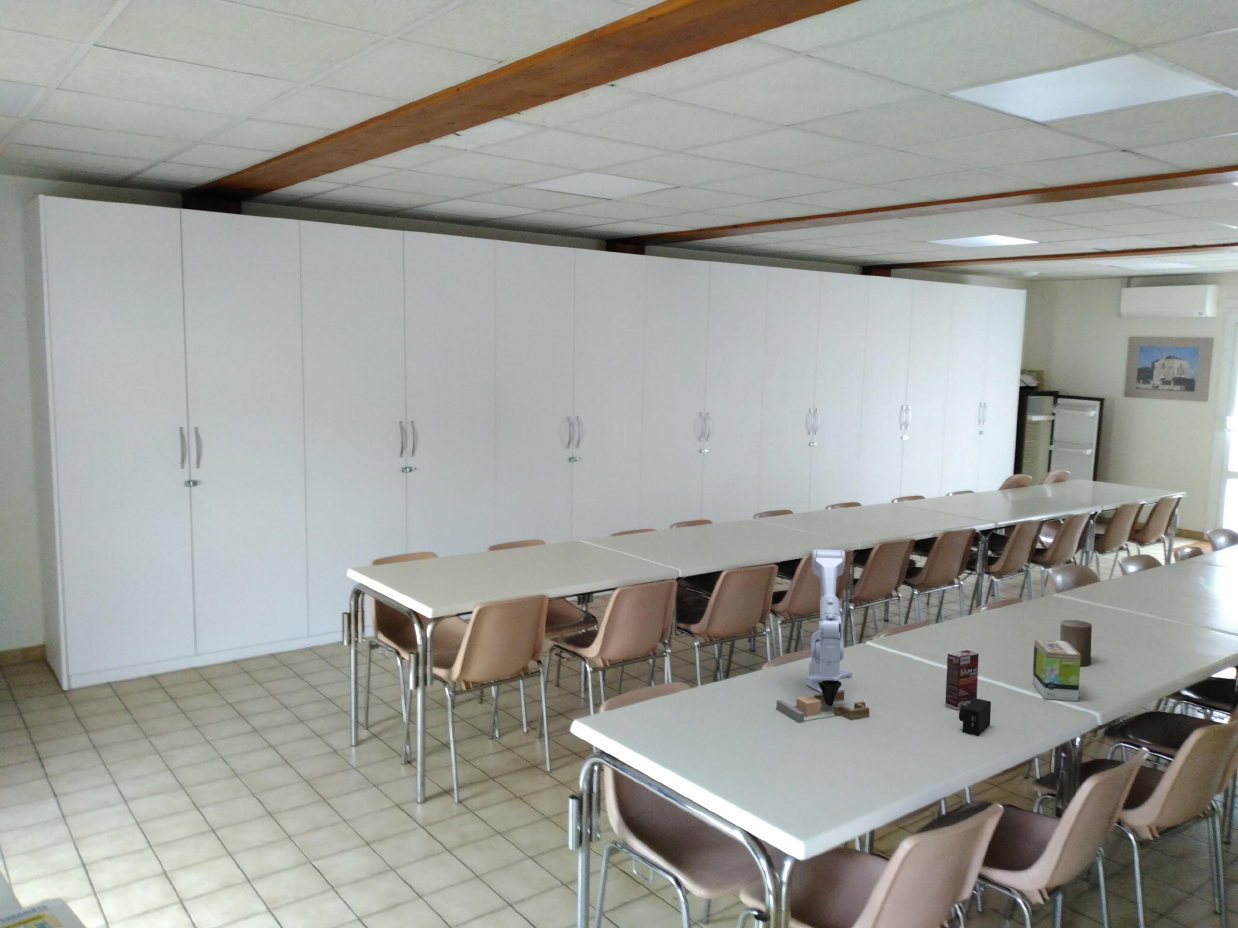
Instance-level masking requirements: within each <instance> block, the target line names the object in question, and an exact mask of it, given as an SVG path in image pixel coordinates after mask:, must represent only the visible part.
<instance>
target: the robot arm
mask: <svg viewBox="0 0 1238 928" xmlns="http://www.w3.org/2000/svg"><path fill="white" fill-rule="evenodd" d="M811 557H812V558H811V562H812V563H811V565H812V566H811V567H812V572H813V575H814V576H816V577H818V579H819V582H820V598H819V599H820V600H819V620H818V630H816V631H815V632H813V633H812V635H811V640H810V657H811V660H810V661H809V664H808V675H806V685H807V686H808V687H810V688H812V689H813V690H816V691H817V692H819V693H820V694H823V696H824V701H825V703H824V704H825V705H826V706H828V707H831V706H833V705H834V703H835V701H834V699H835V696H836V693H837V691H844V692H845V689H844V688H843V687H842V682H841V681H840V680H846V679H849V680H850V679H851V680H852V679H853V672H852V671H851V670H841V669H840V667H841V666H840V665H841V662H842V660H844V638H843V636H842V635H843V623H842V619H841V611H840V610H841V609H840V608H841V606H840V603H841V602H840V599H839V598H838V597H837V595H836V588H837V578H838V577H840V576H843V573H844V570H845V567H846V552H845V550H844V549H822V548H820V549H817V548H813V549H812V556H811ZM833 707H834V706H833Z"/></svg>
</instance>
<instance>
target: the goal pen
mask: <svg viewBox="0 0 1238 928" xmlns="http://www.w3.org/2000/svg"><path fill="white" fill-rule="evenodd" d="M776 709H777V710H778V711H780V712H782V713H783V714H785V715H786V716H788V717H789V718H791V719H792V720H794V721H796V722H798V723H804V722H809V721H814V720H815V721H816V720H821V719H826V718H833V717H836V715H834V713H833V714H828V715H822V716H816V717H810V718H805V715H804V713H803V712H801V711H799V710H798V709H796V704H793V705H791V704H789V703H787V702H786V701H784V700H782V699H777V700H776Z"/></svg>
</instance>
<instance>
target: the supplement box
mask: <svg viewBox="0 0 1238 928" xmlns="http://www.w3.org/2000/svg"><path fill="white" fill-rule="evenodd" d="M946 660H947V661H946V681H945V682H946V684H945V704H944V705H945V706H946V707H948V708H950V709H953V710H956V711H960V707H961V706H962V705H965V706H967V705H968V704H969V703H970V702H972V701H973V700H974V699H975V698H977V699H978V677H979V676H978V675H979V653H977V652H974V651H972V650H968V649H965V650H960V651H956V652H951V653H947V659H946Z"/></svg>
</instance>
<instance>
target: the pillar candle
mask: <svg viewBox="0 0 1238 928" xmlns="http://www.w3.org/2000/svg"><path fill="white" fill-rule="evenodd" d="M1092 629H1093V625H1092V623H1090V622H1087V621H1083V620H1077V619H1076V620H1075V619H1068V620H1067V619H1064V620H1061V621H1060V629H1059V632H1060V633H1059V641H1067V642H1068V643H1069V644H1070V645H1071V646H1072V647H1073V648H1074V649H1075V650H1077V651H1078V652H1079V653H1080V655H1081V659H1080V667H1089V666H1091V663H1092V662H1091V661H1092V660H1091V659H1092V632H1093V631H1092Z"/></svg>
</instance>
